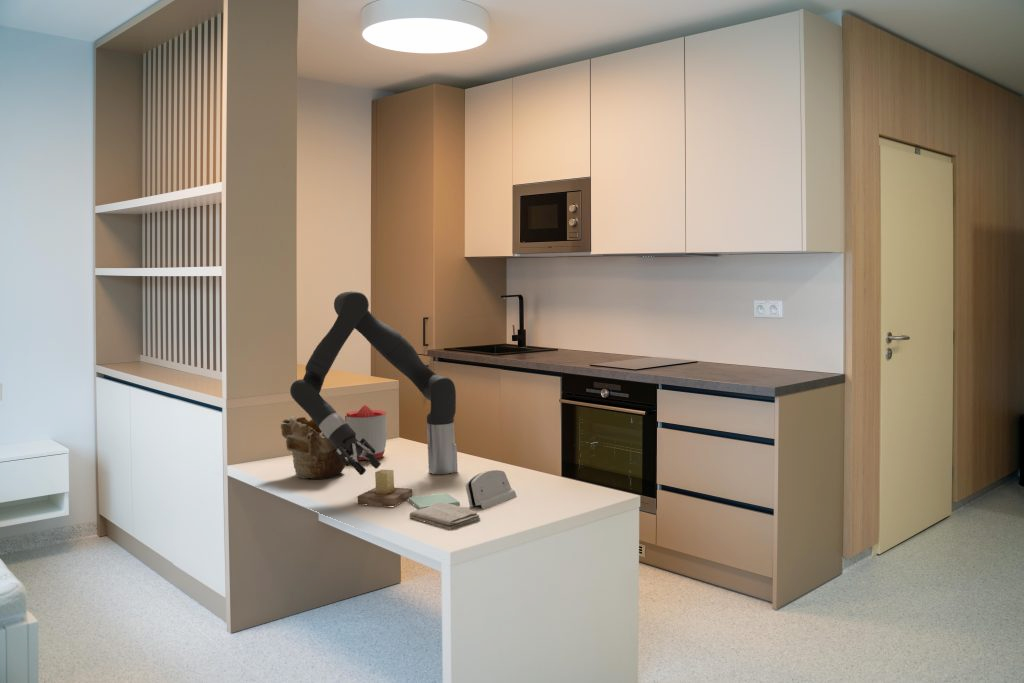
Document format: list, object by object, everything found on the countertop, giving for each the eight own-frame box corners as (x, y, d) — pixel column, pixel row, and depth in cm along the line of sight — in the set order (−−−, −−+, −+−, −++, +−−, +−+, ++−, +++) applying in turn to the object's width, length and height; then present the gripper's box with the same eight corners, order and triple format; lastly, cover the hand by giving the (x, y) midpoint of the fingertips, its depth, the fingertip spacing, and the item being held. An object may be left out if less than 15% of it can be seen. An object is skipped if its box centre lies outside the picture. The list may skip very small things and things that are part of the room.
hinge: (482, 509, 236) (472, 475, 238) (471, 512, 239) (461, 479, 241) (517, 496, 250) (507, 464, 251) (506, 499, 253) (496, 467, 254)
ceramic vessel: (382, 447, 287) (342, 397, 274) (338, 501, 275) (294, 452, 262) (344, 438, 303) (305, 391, 290) (301, 489, 291) (258, 442, 278)
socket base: (378, 494, 257) (378, 486, 257) (412, 496, 252) (412, 488, 252) (357, 504, 246) (357, 496, 245) (393, 507, 241) (392, 498, 241)
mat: (446, 495, 253) (446, 492, 253) (459, 505, 242) (459, 501, 242) (408, 500, 248) (408, 497, 248) (420, 510, 237) (420, 507, 237)
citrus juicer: (343, 454, 317) (341, 403, 315) (389, 452, 319) (386, 401, 317) (339, 463, 302) (336, 409, 300) (387, 461, 303) (385, 407, 302)
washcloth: (452, 531, 218) (451, 520, 218) (407, 520, 230) (406, 509, 230) (483, 521, 227) (482, 510, 227) (438, 510, 239) (438, 499, 239)
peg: (383, 498, 252) (381, 469, 251) (394, 499, 250) (393, 470, 250) (376, 501, 248) (375, 472, 247) (388, 502, 246) (386, 473, 246)
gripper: (331, 426, 246) (366, 467, 242) (356, 418, 259) (390, 456, 255) (316, 443, 248) (351, 483, 245) (343, 434, 261) (376, 472, 258)
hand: (371, 469), depth 250 cm, fingers open, 8 cm apart
